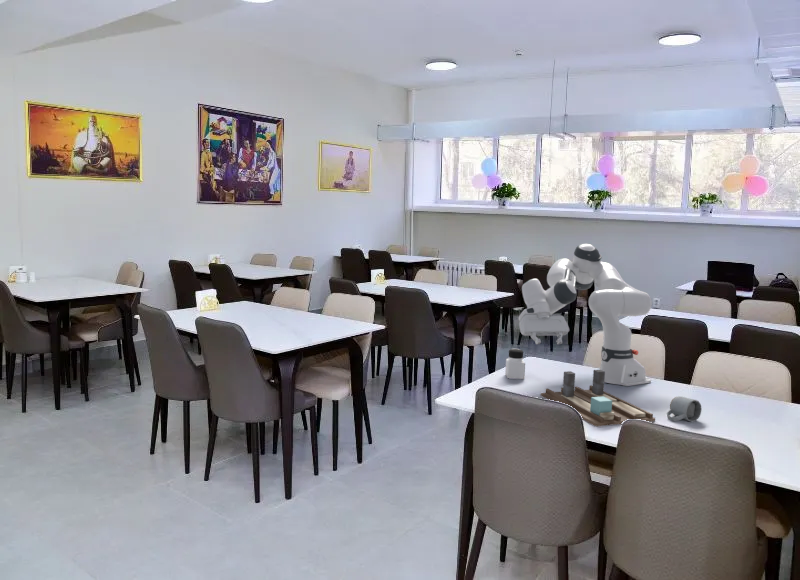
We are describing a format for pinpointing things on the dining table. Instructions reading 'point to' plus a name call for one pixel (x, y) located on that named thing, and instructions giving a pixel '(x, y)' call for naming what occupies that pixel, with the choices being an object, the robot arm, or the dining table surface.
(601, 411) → the teal cube
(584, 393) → the lane board
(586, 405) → the right strip
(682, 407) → the ceramic mug
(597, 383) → the left strip stub
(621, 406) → the left strip far piece
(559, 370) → the dining table surface
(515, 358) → the medicine bottle
